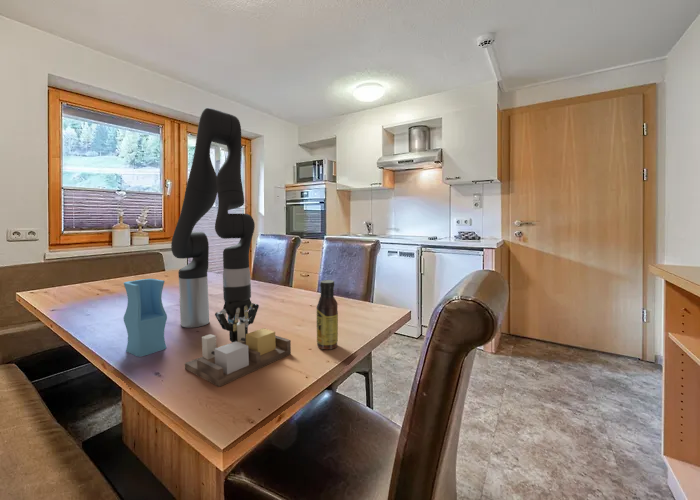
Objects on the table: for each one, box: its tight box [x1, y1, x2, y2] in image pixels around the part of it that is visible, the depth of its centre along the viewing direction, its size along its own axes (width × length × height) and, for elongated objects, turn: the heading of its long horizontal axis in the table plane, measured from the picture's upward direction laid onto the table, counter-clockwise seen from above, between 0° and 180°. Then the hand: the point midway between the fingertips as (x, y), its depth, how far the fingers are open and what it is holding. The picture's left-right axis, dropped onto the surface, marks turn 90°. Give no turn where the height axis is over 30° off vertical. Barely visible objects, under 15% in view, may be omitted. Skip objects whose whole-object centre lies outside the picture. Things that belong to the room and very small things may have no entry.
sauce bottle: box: [316, 279, 339, 351], centre depth 94 cm, size 7×6×20 cm
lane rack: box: [184, 334, 292, 388], centre depth 85 cm, size 15×22×4 cm
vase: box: [123, 278, 168, 357], centre depth 92 cm, size 8×8×20 cm
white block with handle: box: [201, 333, 249, 374], centre depth 81 cm, size 14×6×6 cm, turn 54°
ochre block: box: [236, 321, 276, 356], centre depth 91 cm, size 14×6×6 cm, turn 54°
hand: (238, 340), depth 94 cm, fingers closed on ochre block, 2 cm apart
